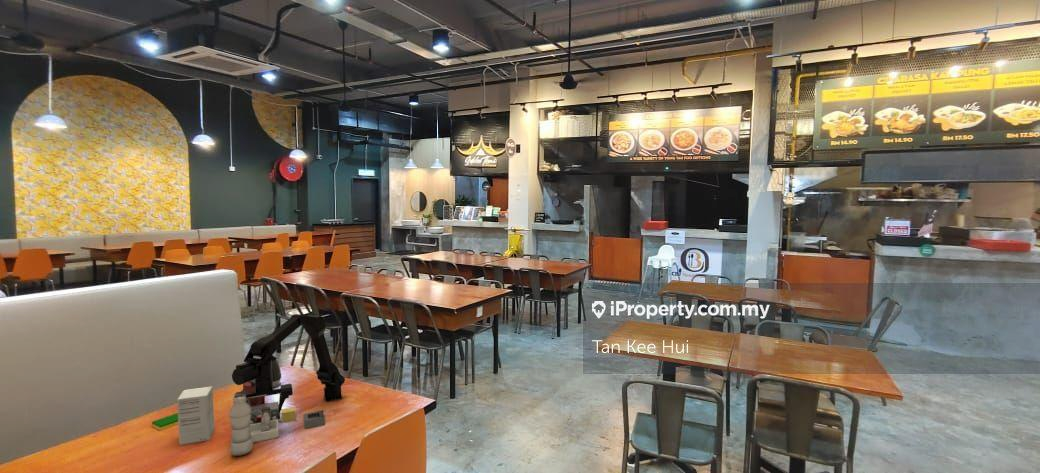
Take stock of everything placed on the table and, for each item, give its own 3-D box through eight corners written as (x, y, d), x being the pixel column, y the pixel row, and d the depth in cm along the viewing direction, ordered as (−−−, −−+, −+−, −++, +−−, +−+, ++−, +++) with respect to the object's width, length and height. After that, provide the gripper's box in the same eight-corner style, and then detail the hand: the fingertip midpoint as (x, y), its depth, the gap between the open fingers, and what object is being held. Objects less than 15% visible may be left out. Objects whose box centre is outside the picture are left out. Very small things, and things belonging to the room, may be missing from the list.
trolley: (280, 411, 192) (279, 388, 191) (280, 422, 183) (279, 397, 182) (246, 418, 186) (245, 393, 186) (244, 429, 177) (243, 403, 176)
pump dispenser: (251, 390, 215) (250, 357, 214) (267, 381, 225) (266, 350, 224) (271, 391, 213) (270, 358, 212) (286, 383, 223) (285, 351, 222)
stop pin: (270, 429, 176) (270, 406, 175) (270, 433, 173) (270, 409, 172) (261, 431, 174) (261, 407, 174) (261, 434, 172) (261, 410, 171)
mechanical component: (252, 402, 201) (274, 403, 200) (235, 413, 191) (258, 413, 190) (251, 374, 200) (273, 375, 199) (234, 383, 190) (257, 384, 189)
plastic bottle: (236, 448, 163) (233, 392, 161) (256, 447, 163) (254, 391, 162) (226, 458, 156) (223, 400, 155) (247, 457, 157) (245, 399, 156)
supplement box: (185, 433, 174) (183, 389, 173) (215, 428, 177) (212, 385, 176) (178, 445, 165) (176, 399, 164) (209, 440, 169) (207, 394, 168)
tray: (278, 426, 179) (278, 419, 179) (278, 437, 171) (278, 429, 170) (243, 433, 174) (243, 425, 173) (242, 445, 165) (241, 436, 165)
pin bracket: (322, 417, 186) (322, 410, 186) (324, 424, 180) (324, 417, 180) (303, 421, 183) (303, 414, 183) (304, 428, 177) (304, 421, 177)
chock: (295, 416, 188) (295, 406, 188) (295, 420, 184) (295, 410, 184) (281, 419, 186) (281, 409, 185) (281, 423, 182) (281, 413, 182)
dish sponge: (151, 427, 180) (151, 421, 180) (191, 413, 192) (191, 407, 191) (160, 432, 176) (160, 425, 176) (200, 417, 188) (200, 411, 188)
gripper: (290, 364, 184) (292, 403, 185) (235, 372, 175) (237, 413, 176) (291, 373, 174) (293, 414, 175) (233, 382, 165) (235, 425, 166)
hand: (265, 416), depth 173 cm, fingers open, 9 cm apart
